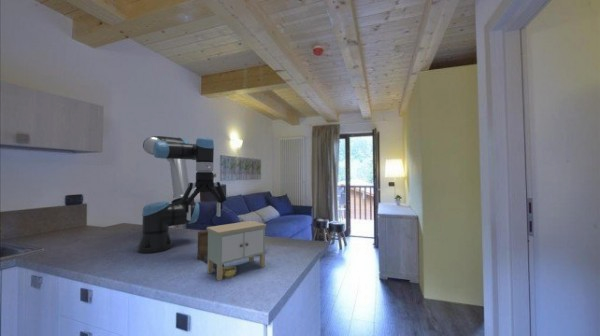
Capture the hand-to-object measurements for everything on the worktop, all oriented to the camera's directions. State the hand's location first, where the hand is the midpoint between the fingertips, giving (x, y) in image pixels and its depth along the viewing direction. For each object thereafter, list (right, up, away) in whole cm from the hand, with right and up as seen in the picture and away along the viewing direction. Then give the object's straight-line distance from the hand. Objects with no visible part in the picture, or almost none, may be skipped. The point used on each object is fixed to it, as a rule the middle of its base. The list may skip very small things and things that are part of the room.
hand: (204, 218), depth 111 cm
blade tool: (+5, -18, -6) cm, 20 cm away
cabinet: (+18, -18, -13) cm, 29 cm away
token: (+16, -18, -18) cm, 30 cm away
